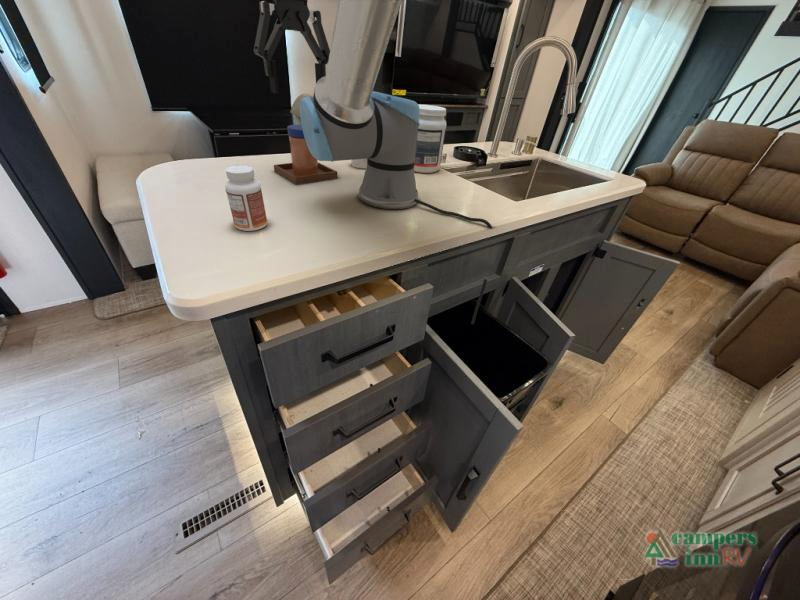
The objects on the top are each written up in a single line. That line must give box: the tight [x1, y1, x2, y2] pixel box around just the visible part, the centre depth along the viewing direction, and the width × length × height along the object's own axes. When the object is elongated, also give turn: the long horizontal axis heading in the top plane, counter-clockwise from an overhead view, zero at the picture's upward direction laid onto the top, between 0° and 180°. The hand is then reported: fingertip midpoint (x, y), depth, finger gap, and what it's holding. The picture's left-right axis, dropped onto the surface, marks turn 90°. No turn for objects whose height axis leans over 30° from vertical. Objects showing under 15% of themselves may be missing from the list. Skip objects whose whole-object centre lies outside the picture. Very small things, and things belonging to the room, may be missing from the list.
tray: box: [273, 161, 339, 186], centre depth 94 cm, size 13×13×2 cm
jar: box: [288, 135, 319, 176], centre depth 91 cm, size 7×7×12 cm
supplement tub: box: [414, 103, 447, 174], centre depth 105 cm, size 13×13×18 cm
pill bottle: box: [224, 165, 268, 232], centre depth 62 cm, size 6×6×11 cm
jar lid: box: [287, 124, 305, 138], centre depth 87 cm, size 8×8×2 cm
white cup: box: [350, 159, 367, 170], centre depth 104 cm, size 8×8×10 cm
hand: (298, 93), depth 82 cm, fingers open, 12 cm apart
